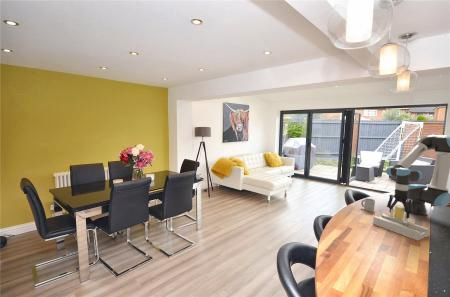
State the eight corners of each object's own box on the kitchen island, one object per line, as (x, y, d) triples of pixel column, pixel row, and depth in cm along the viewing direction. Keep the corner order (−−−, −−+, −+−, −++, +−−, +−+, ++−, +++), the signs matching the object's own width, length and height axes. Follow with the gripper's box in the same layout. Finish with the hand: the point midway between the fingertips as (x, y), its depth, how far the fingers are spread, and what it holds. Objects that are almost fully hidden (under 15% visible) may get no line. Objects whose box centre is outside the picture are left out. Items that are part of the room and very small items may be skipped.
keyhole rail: (383, 220, 169) (383, 213, 168) (428, 235, 145) (429, 228, 144) (372, 223, 162) (373, 216, 162) (417, 240, 138) (418, 232, 138)
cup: (371, 212, 184) (372, 201, 183) (358, 208, 192) (359, 198, 191) (375, 210, 188) (376, 200, 187) (362, 206, 196) (363, 197, 195)
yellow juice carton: (397, 220, 168) (399, 205, 166) (403, 223, 164) (405, 207, 163) (392, 222, 164) (394, 206, 163) (398, 224, 161) (400, 208, 160)
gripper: (382, 186, 169) (380, 215, 172) (416, 194, 151) (413, 226, 153) (388, 185, 173) (385, 213, 175) (422, 192, 154) (418, 224, 156)
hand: (398, 219), depth 164 cm, fingers open, 8 cm apart
